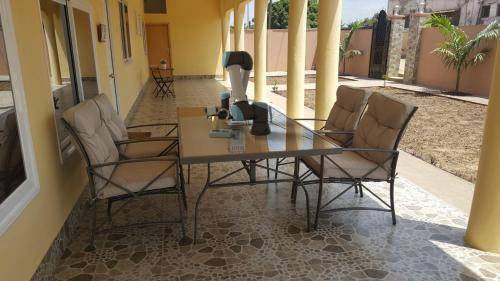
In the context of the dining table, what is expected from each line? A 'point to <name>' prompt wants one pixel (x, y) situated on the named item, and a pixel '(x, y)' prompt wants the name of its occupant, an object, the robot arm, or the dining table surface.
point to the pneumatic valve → (211, 110)
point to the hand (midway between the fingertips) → (217, 119)
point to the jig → (221, 133)
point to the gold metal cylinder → (215, 124)
